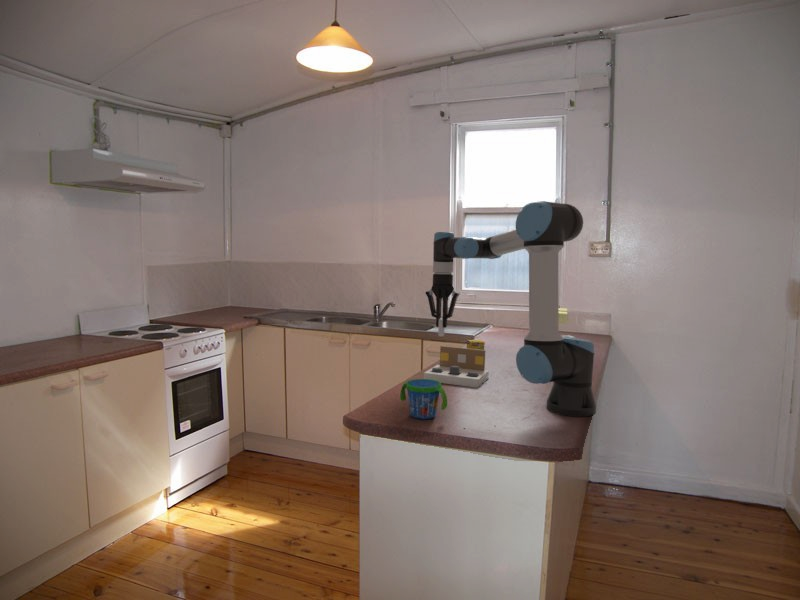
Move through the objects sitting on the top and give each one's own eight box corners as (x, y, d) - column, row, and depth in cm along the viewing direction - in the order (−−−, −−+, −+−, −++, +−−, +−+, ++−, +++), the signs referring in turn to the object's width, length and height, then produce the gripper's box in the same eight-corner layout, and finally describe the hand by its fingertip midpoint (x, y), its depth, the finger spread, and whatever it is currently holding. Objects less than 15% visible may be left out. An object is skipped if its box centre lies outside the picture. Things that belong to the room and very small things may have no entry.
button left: (439, 379, 209) (440, 370, 209) (430, 378, 211) (431, 369, 210) (442, 377, 213) (443, 368, 212) (433, 376, 214) (434, 367, 214)
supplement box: (470, 367, 233) (471, 342, 232) (465, 364, 239) (466, 339, 238) (483, 367, 235) (484, 341, 233) (478, 364, 240) (479, 339, 239)
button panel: (478, 387, 200) (479, 357, 199) (423, 380, 208) (424, 351, 207) (488, 378, 215) (489, 350, 214) (437, 372, 223) (438, 345, 222)
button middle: (457, 377, 206) (458, 368, 206) (448, 376, 208) (448, 367, 207) (460, 375, 210) (460, 366, 209) (451, 374, 211) (451, 365, 211)
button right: (475, 383, 204) (476, 374, 204) (466, 382, 205) (466, 373, 205) (478, 381, 207) (478, 372, 207) (468, 380, 209) (469, 371, 208)
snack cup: (391, 413, 167) (392, 380, 166) (414, 407, 174) (415, 375, 173) (431, 426, 156) (432, 391, 155) (454, 418, 164) (455, 384, 163)
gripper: (462, 273, 208) (460, 335, 210) (429, 272, 213) (428, 333, 215) (456, 274, 201) (454, 338, 203) (423, 273, 206) (421, 335, 208)
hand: (441, 335), depth 209 cm, fingers closed
